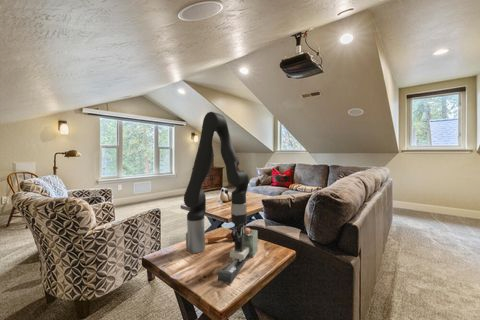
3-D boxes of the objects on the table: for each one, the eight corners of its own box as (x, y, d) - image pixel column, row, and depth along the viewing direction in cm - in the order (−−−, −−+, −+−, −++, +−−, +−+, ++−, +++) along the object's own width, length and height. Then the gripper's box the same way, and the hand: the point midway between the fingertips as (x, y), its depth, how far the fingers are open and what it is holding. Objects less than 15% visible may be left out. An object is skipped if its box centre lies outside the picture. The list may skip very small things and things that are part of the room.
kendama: (206, 234, 130) (238, 227, 136) (208, 245, 129) (239, 237, 136) (208, 236, 124) (241, 229, 131) (209, 247, 123) (242, 239, 130)
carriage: (243, 262, 100) (243, 239, 100) (229, 260, 103) (229, 237, 102) (249, 254, 108) (248, 233, 107) (236, 252, 110) (235, 231, 110)
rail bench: (235, 284, 87) (235, 258, 87) (213, 279, 91) (213, 254, 90) (257, 250, 117) (257, 230, 116) (240, 247, 120) (240, 228, 120)
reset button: (240, 237, 113) (240, 230, 113) (243, 234, 117) (243, 227, 117) (248, 238, 112) (248, 231, 112) (251, 235, 116) (251, 228, 116)
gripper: (237, 207, 112) (237, 240, 113) (225, 215, 99) (226, 252, 100) (250, 208, 110) (251, 242, 110) (241, 217, 97) (241, 255, 97)
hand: (239, 247), depth 105 cm, fingers closed on carriage, 3 cm apart
